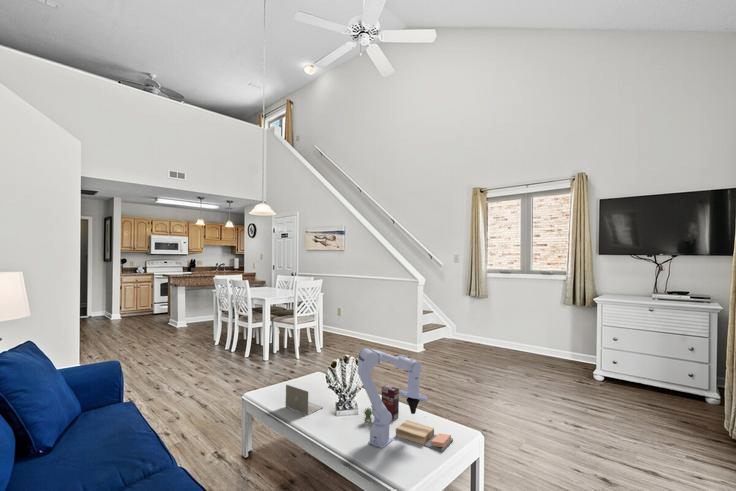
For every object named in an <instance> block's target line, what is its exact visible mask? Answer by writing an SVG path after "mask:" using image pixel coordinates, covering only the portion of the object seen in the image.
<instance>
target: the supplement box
mask: <svg viewBox="0 0 736 491" xmlns="http://www.w3.org/2000/svg"><path fill="white" fill-rule="evenodd" d="M381 400H382V402H383V404H384V405H385V407H386V408H387V410H388V411H389V412H390V413H391V415H392V419H391V421H395V420H397V419H399V416H400V415H399V412H400V411H399V408H400V407H399V403H400V402H399V401H400V389H399V388H397V387H394V386H391V385H388V384H386V385H383V386H381Z"/></svg>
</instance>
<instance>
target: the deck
mask: <svg viewBox="0 0 736 491" xmlns="http://www.w3.org/2000/svg"><path fill="white" fill-rule="evenodd" d="M434 435H435V428H434V427H430V426H428V425H424V424H422V423H418V422H414V421H412V420H411V421H410V420H407V419H406V420H405V421H404V422H402V423H401V424H399V425H398V426H397V427H396V428H395V437H399V438H402V439H405V440H408V441H410V442H413V443H417V444H420V445H423V446H424V444H426V443H427V442H428V441H429V440H430V439H431V438H432V437H433V436H434Z"/></svg>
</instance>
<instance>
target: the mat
mask: <svg viewBox="0 0 736 491" xmlns="http://www.w3.org/2000/svg"><path fill="white" fill-rule="evenodd" d="M437 435H438V434H434V436H433V437H432V438H431V439H430V440H429V441H428V442H427V443H426V444H424V445H423V446H424V447H427V448H429V449H432V450H435V451H438V452H441V453H443V452H444V451H445V450H447V448H448V447H449V446H450V445H451V444H452V443H453V441H454V438H453V437H451V440H450V442H449V443H448V444H447V445H446V446H445V447H444V448H443V447H437V446H432V445H431V441H432V440H433V439H434V438H435V437H436V436H437Z"/></svg>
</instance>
